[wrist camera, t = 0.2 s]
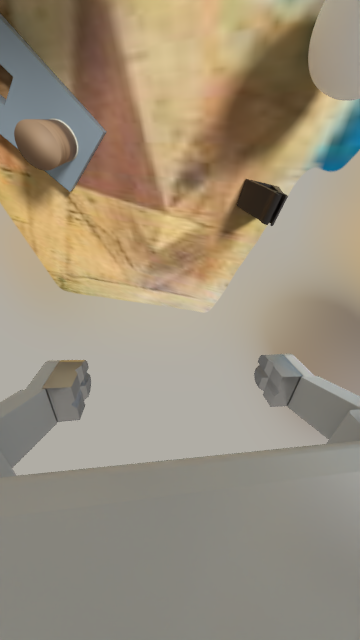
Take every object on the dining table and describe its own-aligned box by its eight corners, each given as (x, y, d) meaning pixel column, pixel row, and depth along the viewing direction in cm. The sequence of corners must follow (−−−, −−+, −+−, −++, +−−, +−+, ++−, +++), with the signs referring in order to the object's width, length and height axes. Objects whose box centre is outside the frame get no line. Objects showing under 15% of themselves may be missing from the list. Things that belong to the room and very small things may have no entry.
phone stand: (236, 205, 52) (251, 221, 44) (245, 178, 48) (264, 190, 39) (266, 212, 54) (286, 229, 45) (278, 186, 50) (302, 200, 41)
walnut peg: (56, 108, 37) (21, 105, 27) (87, 140, 41) (66, 147, 31) (43, 139, 40) (7, 146, 30) (73, 167, 43) (50, 180, 34)
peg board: (-33, -24, 28) (-49, -36, 26) (106, 131, 40) (103, 132, 38) (-52, 82, 34) (-65, 80, 32) (73, 188, 46) (70, 191, 44)
